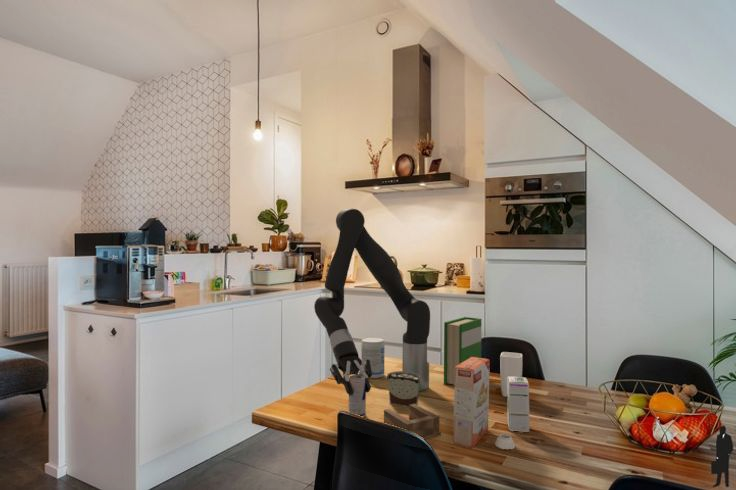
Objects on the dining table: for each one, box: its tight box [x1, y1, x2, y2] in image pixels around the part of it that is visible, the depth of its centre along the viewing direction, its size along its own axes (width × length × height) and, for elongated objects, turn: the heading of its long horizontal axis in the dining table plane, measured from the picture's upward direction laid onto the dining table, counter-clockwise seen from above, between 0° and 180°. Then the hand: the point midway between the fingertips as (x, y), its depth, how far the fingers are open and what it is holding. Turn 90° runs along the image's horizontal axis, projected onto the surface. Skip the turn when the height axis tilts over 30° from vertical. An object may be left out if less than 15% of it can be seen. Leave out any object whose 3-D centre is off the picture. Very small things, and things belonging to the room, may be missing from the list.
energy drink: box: [348, 374, 367, 418], centre depth 139 cm, size 5×5×12 cm
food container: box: [385, 370, 422, 408], centre depth 151 cm, size 12×6×10 cm, turn 65°
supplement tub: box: [360, 337, 385, 379], centre depth 183 cm, size 10×10×15 cm
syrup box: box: [506, 376, 530, 433], centre depth 131 cm, size 6×6×14 cm
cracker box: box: [452, 357, 491, 448], centre depth 124 cm, size 14×6×21 cm, turn 148°
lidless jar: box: [494, 433, 516, 451], centre depth 119 cm, size 5×3×5 cm
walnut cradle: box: [383, 404, 442, 440], centre depth 128 cm, size 12×12×5 cm
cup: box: [499, 351, 523, 398], centre depth 159 cm, size 7×7×15 cm
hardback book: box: [443, 316, 482, 386], centre depth 176 cm, size 18×7×24 cm, turn 142°
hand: (360, 392), depth 138 cm, fingers closed on energy drink, 5 cm apart
